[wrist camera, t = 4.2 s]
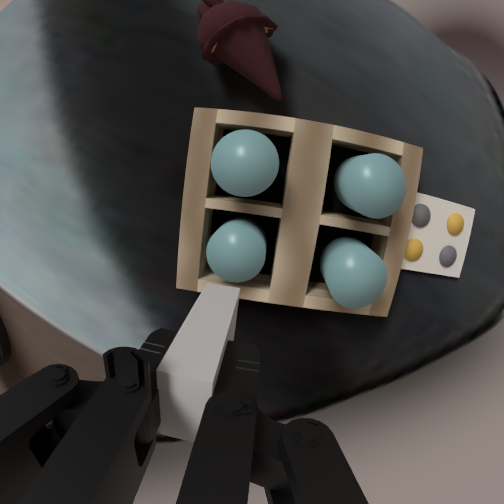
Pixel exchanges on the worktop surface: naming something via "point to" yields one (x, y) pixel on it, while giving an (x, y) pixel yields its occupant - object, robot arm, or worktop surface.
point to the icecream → (239, 41)
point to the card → (438, 236)
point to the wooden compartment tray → (290, 209)
